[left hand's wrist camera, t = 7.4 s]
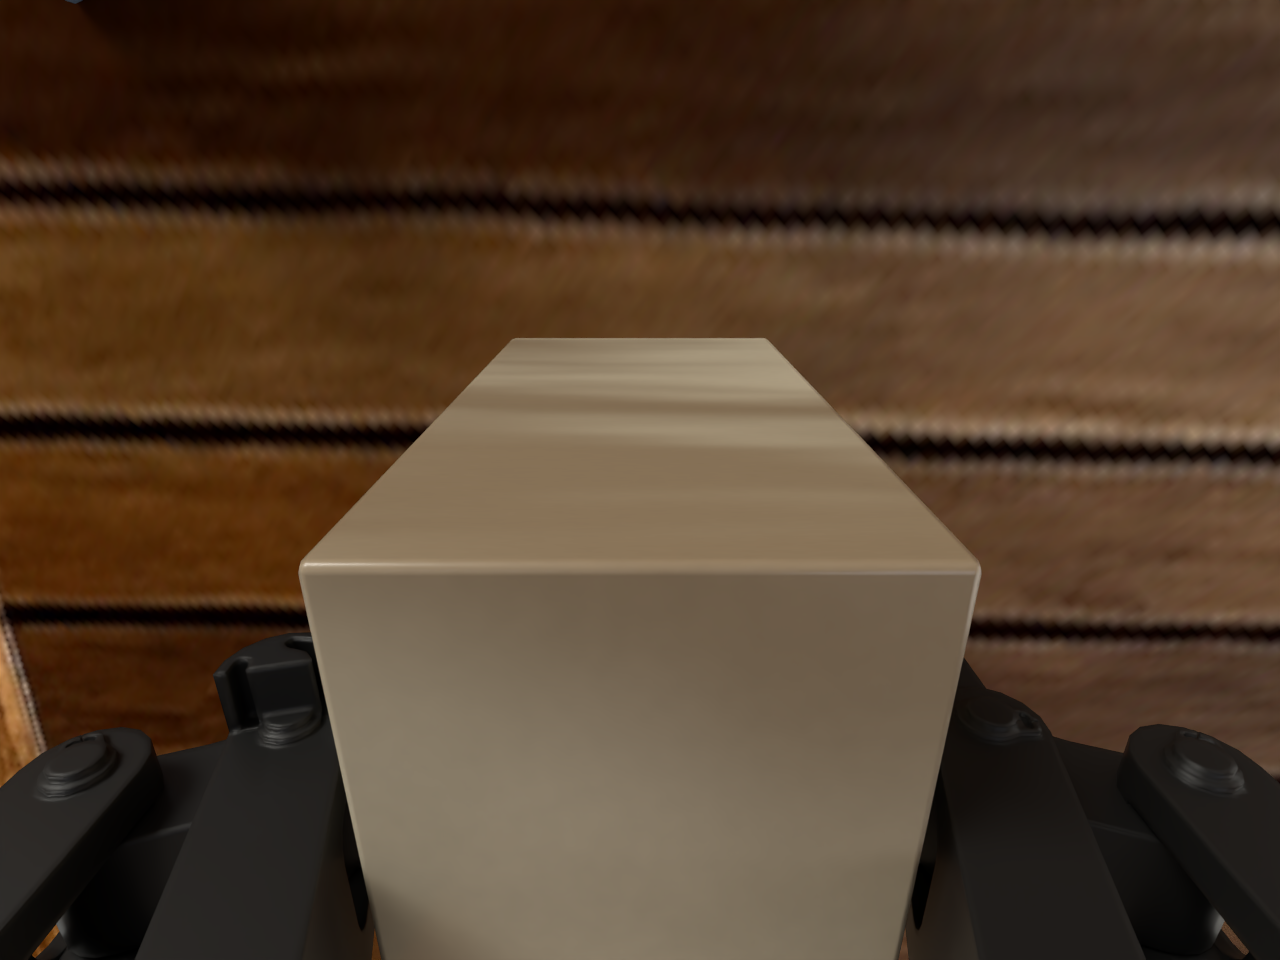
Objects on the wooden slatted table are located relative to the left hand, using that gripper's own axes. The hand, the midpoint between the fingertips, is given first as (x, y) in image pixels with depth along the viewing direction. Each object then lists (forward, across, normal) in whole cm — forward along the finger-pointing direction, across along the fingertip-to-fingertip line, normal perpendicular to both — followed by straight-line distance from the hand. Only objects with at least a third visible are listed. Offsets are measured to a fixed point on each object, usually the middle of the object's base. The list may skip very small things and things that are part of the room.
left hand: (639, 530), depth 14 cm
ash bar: (0, 0, +8) cm, 9 cm away
